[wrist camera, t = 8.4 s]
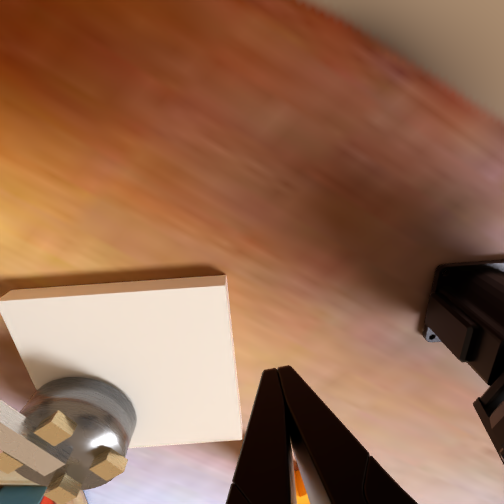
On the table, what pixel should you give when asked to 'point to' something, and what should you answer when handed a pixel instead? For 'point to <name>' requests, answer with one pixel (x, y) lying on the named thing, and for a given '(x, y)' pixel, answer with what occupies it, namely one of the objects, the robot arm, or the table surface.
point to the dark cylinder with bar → (68, 436)
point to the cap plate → (139, 350)
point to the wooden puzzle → (27, 491)
